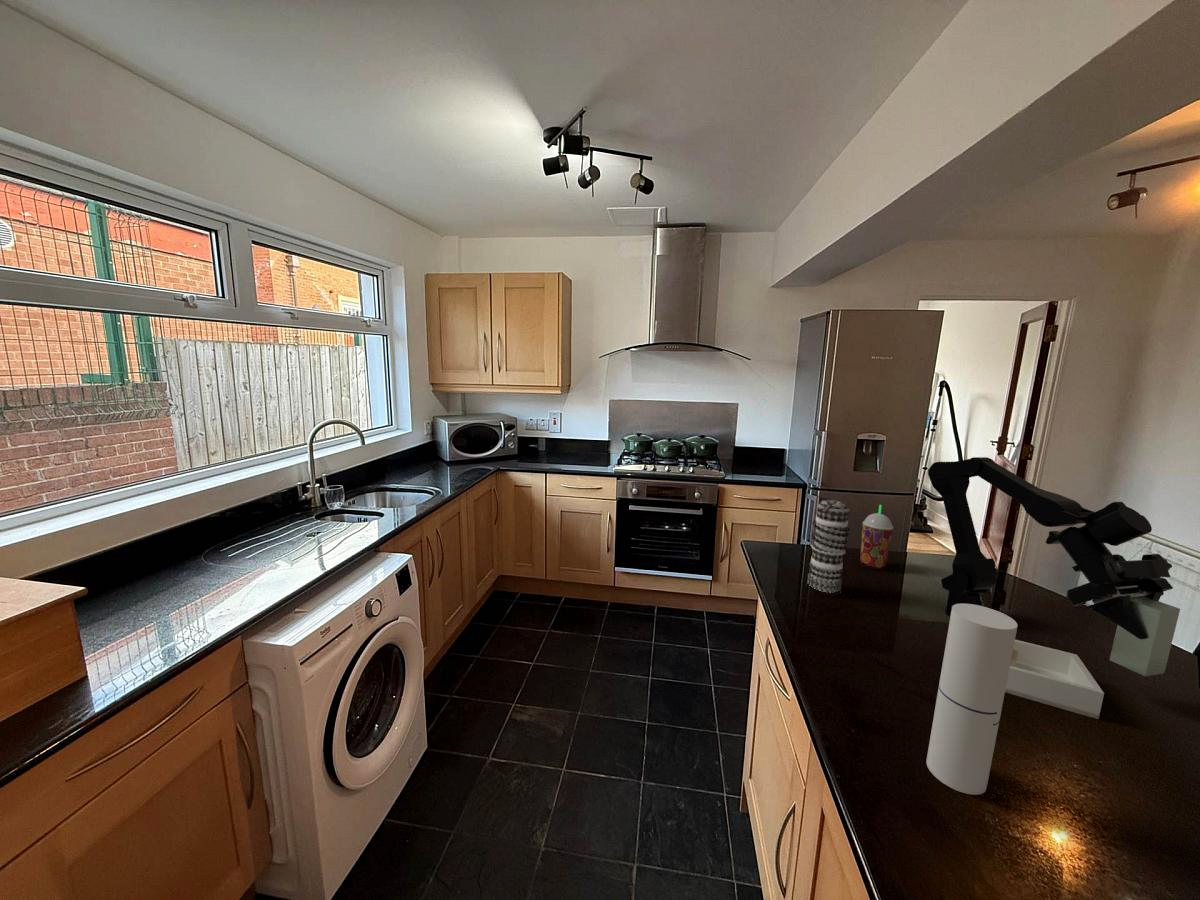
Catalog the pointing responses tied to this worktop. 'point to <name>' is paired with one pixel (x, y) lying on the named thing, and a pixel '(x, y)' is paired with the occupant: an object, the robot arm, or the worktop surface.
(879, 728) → the worktop surface
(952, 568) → the robot arm
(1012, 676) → the white tote
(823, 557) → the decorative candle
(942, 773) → the cylindrical container
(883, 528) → the smoothie
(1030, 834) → the worktop surface
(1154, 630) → the sage tin
